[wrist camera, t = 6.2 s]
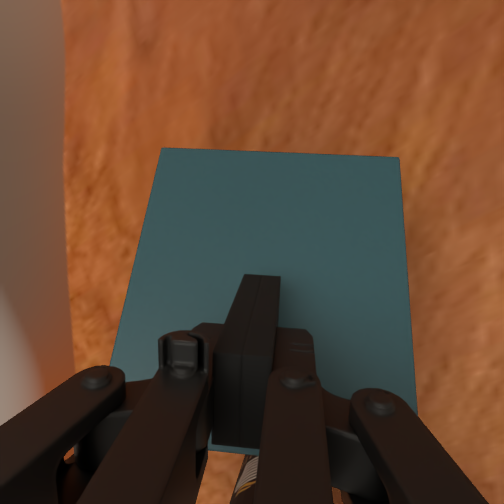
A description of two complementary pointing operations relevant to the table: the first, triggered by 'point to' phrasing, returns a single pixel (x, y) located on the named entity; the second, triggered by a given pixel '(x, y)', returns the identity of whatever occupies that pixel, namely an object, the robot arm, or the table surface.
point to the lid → (277, 260)
